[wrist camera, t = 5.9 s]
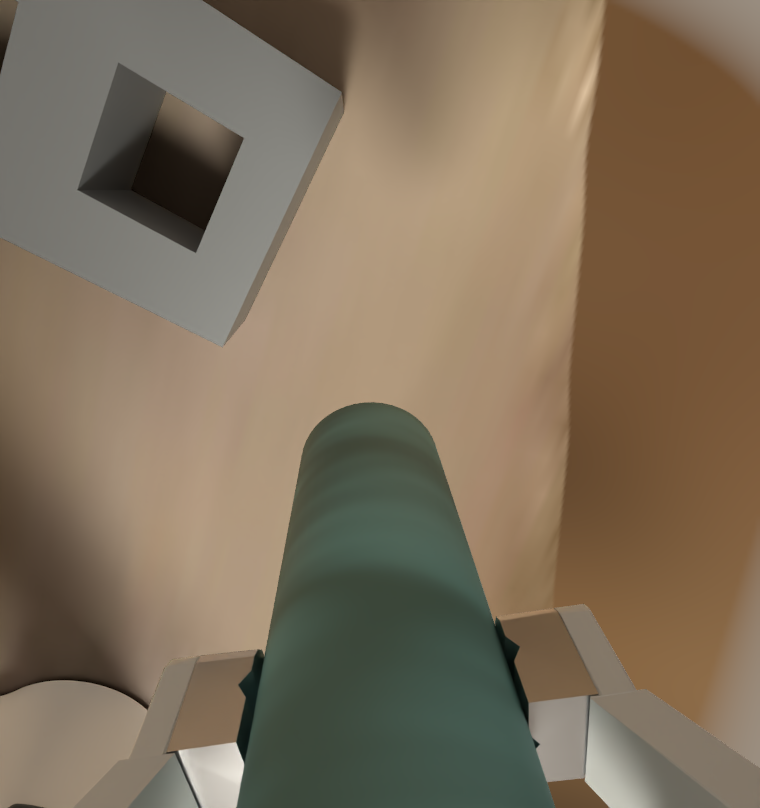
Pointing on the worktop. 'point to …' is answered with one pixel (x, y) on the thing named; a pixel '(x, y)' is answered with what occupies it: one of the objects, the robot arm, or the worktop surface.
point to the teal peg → (383, 641)
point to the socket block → (126, 142)
